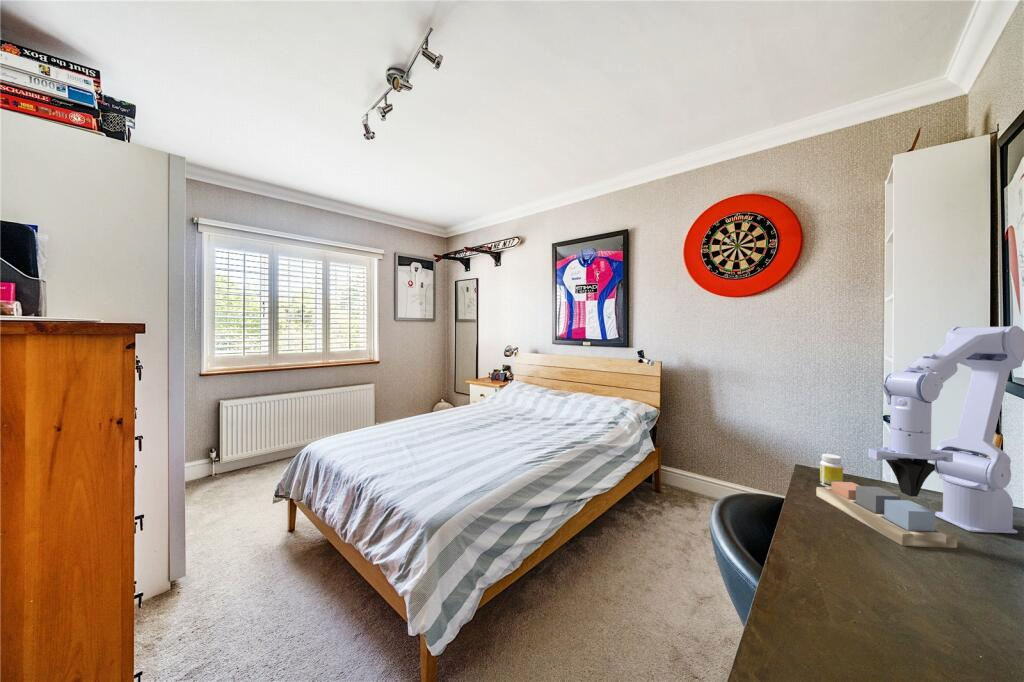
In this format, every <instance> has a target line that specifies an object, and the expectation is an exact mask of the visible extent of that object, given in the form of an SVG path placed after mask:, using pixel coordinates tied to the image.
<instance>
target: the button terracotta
mask: <svg viewBox="0 0 1024 682" xmlns="http://www.w3.org/2000/svg"><path fill="white" fill-rule="evenodd" d="M856 486H860V485H859V484H857V483H855V482H852V481H843V482H831V491H833V492H835V493H836V494H838V495H840V496H842V497H844V498H846V499H848V500H856Z"/></svg>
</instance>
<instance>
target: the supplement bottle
mask: <svg viewBox="0 0 1024 682" xmlns="http://www.w3.org/2000/svg"><path fill="white" fill-rule="evenodd" d="M843 480H844V466H843V464H842V456H839V455H836V454H833V453H822V454H821V461H820V462H819V484H820V485H822V487H831V482H844V481H843Z"/></svg>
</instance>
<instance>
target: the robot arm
mask: <svg viewBox="0 0 1024 682" xmlns="http://www.w3.org/2000/svg"><path fill="white" fill-rule="evenodd" d="M1023 363H1024V329H1022V327H1020V326H1018V325H1009V326H970V327H969V326H965V327H964V326H963V327H962V326H953V327H952V328H950V329H949V330H948V331H947V332H946V335H945V344H944V345H942V346H941V347H940V348H939V349H938V350H937V351H936V353H935V352H931V353H929V352H928V353H927V352H926V353H924V354H923V355H921V356H920V357H919V358H918V359H917V360H915V361H914V362H912V363H911V364H910V365H909V366H907V367H905V368H904V369H903V370H902V371H901V370H900V371H898V370H896V371H893V372H891V373H888V374H887V375H886V376H885V378H884V382H883V384H882V389H883V392H884V394H885V396H886V403H887V405H888V406H890V408H889V409H890V410H889V411H890V412H889V413H890V414H889V415H890V416H889V419H890V420H889V422H890V423H889V427H890V428H889V444H887V446H884V447H883V446H882V447H875V448H873V447H871V448H868V456H867V457H868V458H869V459H872V460H874V461H883V460H885V461H886V463H887V464H888V465H889V467H890V468H891V470H892V472H893V474H894V476H895V478H896V481H897V483H898V487H899V490H900V493H902V494H903V495H904V494H905V495H906V496H909V497H912V498H913V497H916V498H917V497H918V496H919V494H920V491H921V489H922V487H923V485H924V483H925V482H926V480H927V478H928V477H929V476H930V475H931V474H932V473H933V472H935V473H936V474H938V478H939V479H941V480H943V481H942V483H943V484H942V486H943V487H942V511H934V512H935V517H936V518H939V519H941V520H944V521H945V522H948V523H950V524H951V525H955V526H957V527H959V528H961V529H963V530H965V531H968V532H972V533H995V534H996V533H1000V534H1002V533H1003V534H1018V532H1019V531H1018V530H1016V529H1014V528H1013V527H1014V523H1013V520H1014V519H1013V518H1014V517H1013V516H1014V514H1013V513H1014V504H1013V503H1014V502H1013V499H1012V497H1011V496H1010V494H1009V492H1008V491H1006V490H1005V489H1004V488H1007V487H1008V486H1009V484H1010V482H1011V479H1012V470H1011V462H1012V460H1011V457H1010V456H1009V455H1008V454H1007V453H1006V452H1005V451H1003V450H1002V449H1001V448H999V447H998V446H996V445H995V444H994V437H995V434H996V430H997V424H998V421H999V417H1000V412H1001V409H1002V406H1003V405H1002V404H1003V401H1004V397H1005V392H1006V387H1007V383H1008V380H1009V377H1010V373H1011V371H1012V370H1014V369H1018V368H1021V367H1022V366H1023V365H1022V364H1023ZM958 364H960V365H963V366H965V367H968V368H970V370H971V371H972V372H971V376H970V381H969V384H968V388H967V391H966V396H965V400H964V404H963V408H962V412H961V417H960V421H959V424H958V429H957V433H956V435H955V436H952V437H948V438H945V439H942V440H940V441H938V444H937V447H936V449H932V409H933V407H932V406H933V405H932V404H933V403H932V402H935V401H937V399H938V398H939V397H940V393H941V390H942V389H943V388H944V383H945V382H947V381H948V380H949V379H950V378H952V377H953V376H955V375H956V373H957V372H958V371H959V370H958V369H959V367H958ZM929 461H930V462H929Z"/></svg>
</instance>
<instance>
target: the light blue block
mask: <svg viewBox="0 0 1024 682" xmlns="http://www.w3.org/2000/svg"><path fill="white" fill-rule="evenodd" d="M935 512H936V511H934V510H931V509H930V508H927V507H925V506H923V505H921V504H918V503H916V502H914V501H911V500H907V499H906V500H905V499H904V500H903V499H900V500H885V508H884V518H885V519H887V520H889V521H891V522H893V523H895V524H896V525H898V526H900V527H902V528H904V529H906V530H908V531H931V532H935V525H936V516H935Z"/></svg>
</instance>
